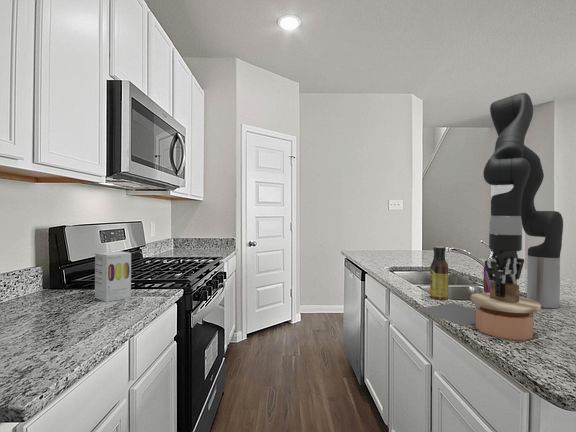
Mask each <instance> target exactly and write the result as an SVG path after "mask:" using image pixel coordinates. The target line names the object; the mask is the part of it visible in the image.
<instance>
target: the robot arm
mask: <svg viewBox="0 0 576 432" xmlns="http://www.w3.org/2000/svg"><path fill="white" fill-rule="evenodd" d="M489 112H490V117H491V120H492V123H493V127H494V128H495V131H496V134H497V136H498V137H497V138H496V140H495V146H494V152H493V153H492V155H491V156H490V157H489V159H488V160H487V162H486V164H485V165H484V168H483V174H482V175H483V179H484V182H486V183H487V184H488V185H490V186H509V185H510V186H512V188H511V189H510V190H509V191H507V192H503V193H498V194H494V195H492V196H491V199H490V218H489V219H490V220H489V227H488V229H489V233H488V234H489V235H488V237H489V238H488V248H489V250H492V255H491V259H489V260H487V259H486V260H484V265H485V266H486V270H487V273H488V277H489V280H491V281H494V282H495V295H496V296H498V297H505V284H504V283H510V284H514V282H515V280H516V279H517V280H520V277H521V274H522V271H523V267H524V264H525V258H519V256H518V252H521V251H522V250H523V231H524V233H525V234H526V235H527V236H530V237H539V238H540V237H541V238H544V241H543V242H542V243H540V244H538V245H534V246H529V247H528V248H527V261H526V262H527V268H526V269H527V270H526V273H527V274H526V280H527V281H526V298H528V299H532V300H534V301H537V302H539V303H540V305H541V308H544V309H558V308H560V301H561V299H560V297H561V277H560V275H561V251H562V248H563V247H562V246H563V243H562V242H563V233H564V219H563V216H562V213H560V211H556V210H537V209H536V207H535V197H536V194H537V192H538V191H539V189H540V188H541V185H542V184H543V181H544V179H545V178H544V177H545V175H544V170H543V166H542V162H541V158H540V157H539V155H538V154H537V153H536V152H535V151H533V150H532V149H531V148H529V147H528V146H527V145H525V138H526V135H527V132H528V130H529V128H530V126H531V122H532V120H533V115H534V106H533V101H532V99H531V96H530V95H529V94H528V93H526V92H519V93H516V94H514V95H510V96H506V97H504V98H501V99H498V100H495V101H493V102H491V104H490V106H489ZM498 270H501V271H502V272H501V271H498ZM515 273H516V275H515ZM493 274H494V276H493ZM500 274H501V278H500Z"/></svg>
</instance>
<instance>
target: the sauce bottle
mask: <svg viewBox="0 0 576 432" xmlns="http://www.w3.org/2000/svg"><path fill="white" fill-rule="evenodd" d="M430 264H431V265H430V267H429V268H430V269H429V272H430V273H429V274H430V275H429V277H430V278H429V295H430V299H433V300H436V301H447V300H449V273H450V272H449V264H448V262H447V261H446V246H443V245H442V246H441V245H435V246H433V258H432V262H431V263H430Z"/></svg>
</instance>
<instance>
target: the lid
mask: <svg viewBox="0 0 576 432" xmlns="http://www.w3.org/2000/svg"><path fill="white" fill-rule="evenodd" d="M504 284H505V297H498V296H496V295H495V282H494V281H493V282H490V293H483V292H476V293H472V294H471V295H470V303H472V304H474V305H475V306H477V305H478V306H480V307H484V308H487V309H492V310H497V311H503V312H511V313H533V314H534V313H535V314H536V313H539V312H541V309H542V307H541V305H540V303H539V302H537V301H534V300H532V299H528V298H527V297H525V296H524V297H523V296H520V284H517V285H515V284H510V283H504Z"/></svg>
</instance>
